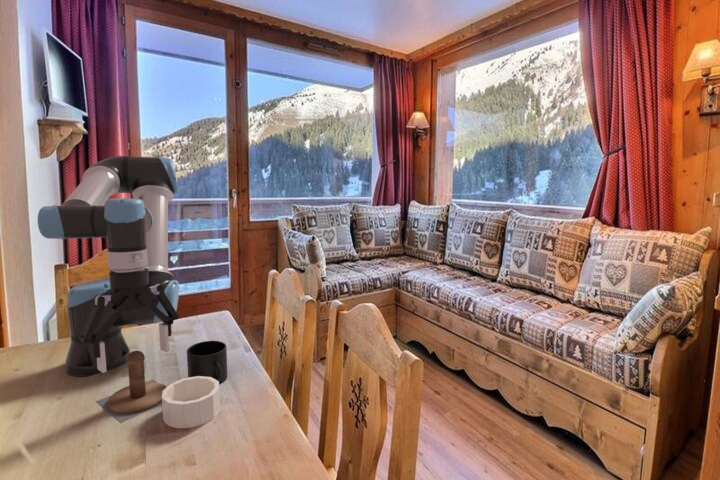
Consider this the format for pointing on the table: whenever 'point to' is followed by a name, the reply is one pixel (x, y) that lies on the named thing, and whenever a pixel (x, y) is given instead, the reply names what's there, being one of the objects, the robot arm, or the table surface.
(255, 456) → the table surface
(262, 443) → the table surface
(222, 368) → the mug
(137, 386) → the lid
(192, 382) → the bowl
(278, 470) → the table surface
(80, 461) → the table surface
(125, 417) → the mat
